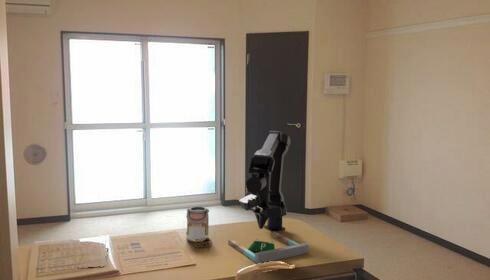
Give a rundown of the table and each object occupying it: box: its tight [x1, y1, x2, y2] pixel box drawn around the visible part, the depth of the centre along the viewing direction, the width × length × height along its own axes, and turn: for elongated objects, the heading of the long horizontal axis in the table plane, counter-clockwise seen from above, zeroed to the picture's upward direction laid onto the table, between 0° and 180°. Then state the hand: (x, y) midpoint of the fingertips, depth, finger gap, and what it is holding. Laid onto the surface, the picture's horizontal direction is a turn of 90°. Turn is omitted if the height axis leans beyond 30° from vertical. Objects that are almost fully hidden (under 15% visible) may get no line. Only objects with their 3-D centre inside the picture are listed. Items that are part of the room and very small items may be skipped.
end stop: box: [254, 242, 309, 264], centre depth 146 cm, size 2×21×3 cm, turn 120°
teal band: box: [242, 239, 299, 262], centre depth 151 cm, size 8×21×2 cm, turn 120°
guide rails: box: [227, 231, 292, 254], centre depth 159 cm, size 11×21×2 cm, turn 120°
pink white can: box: [186, 206, 210, 242], centre depth 161 cm, size 9×8×12 cm
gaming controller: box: [247, 238, 276, 253], centre depth 150 cm, size 9×4×6 cm
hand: (261, 228), depth 158 cm, fingers closed
